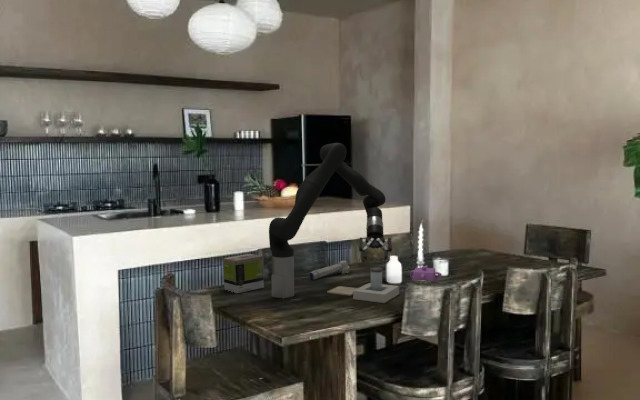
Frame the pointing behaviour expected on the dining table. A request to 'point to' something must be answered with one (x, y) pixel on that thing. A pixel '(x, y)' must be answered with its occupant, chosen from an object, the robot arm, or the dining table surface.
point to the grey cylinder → (329, 270)
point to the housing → (376, 293)
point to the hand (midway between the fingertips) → (375, 258)
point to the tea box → (243, 273)
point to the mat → (342, 290)
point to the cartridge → (376, 278)
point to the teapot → (425, 274)
